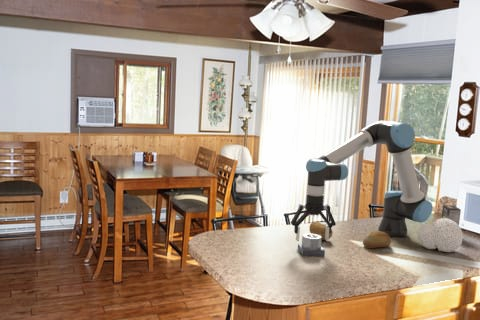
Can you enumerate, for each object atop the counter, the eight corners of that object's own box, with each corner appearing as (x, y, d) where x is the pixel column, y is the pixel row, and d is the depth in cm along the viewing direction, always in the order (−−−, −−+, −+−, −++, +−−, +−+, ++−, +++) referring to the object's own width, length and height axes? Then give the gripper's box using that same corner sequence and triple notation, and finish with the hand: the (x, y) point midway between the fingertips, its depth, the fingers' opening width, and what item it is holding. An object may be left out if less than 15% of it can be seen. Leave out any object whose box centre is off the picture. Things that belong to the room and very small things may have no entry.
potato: (322, 244, 229) (323, 228, 228) (304, 236, 241) (305, 221, 240) (337, 242, 234) (338, 226, 233) (319, 234, 246) (320, 219, 245)
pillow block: (318, 250, 220) (319, 233, 219) (324, 256, 211) (325, 239, 210) (297, 249, 219) (298, 233, 218) (302, 256, 210) (303, 239, 209)
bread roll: (396, 249, 229) (397, 233, 228) (371, 251, 223) (372, 235, 222) (382, 243, 237) (384, 227, 236) (358, 245, 231) (359, 229, 230)
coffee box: (439, 233, 261) (442, 204, 258) (450, 233, 261) (454, 205, 258) (445, 238, 252) (449, 208, 249) (458, 238, 251) (461, 209, 249)
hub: (317, 244, 219) (318, 233, 219) (322, 249, 211) (323, 238, 211) (300, 243, 218) (301, 233, 218) (304, 249, 210) (305, 238, 210)
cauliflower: (466, 231, 234) (453, 207, 228) (470, 257, 220) (456, 232, 214) (425, 241, 244) (412, 218, 238) (427, 266, 230) (413, 243, 224)
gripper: (339, 193, 217) (336, 237, 220) (286, 192, 214) (283, 237, 216) (345, 196, 210) (341, 243, 212) (289, 195, 206) (287, 242, 209)
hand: (312, 240), depth 214 cm, fingers open, 13 cm apart
